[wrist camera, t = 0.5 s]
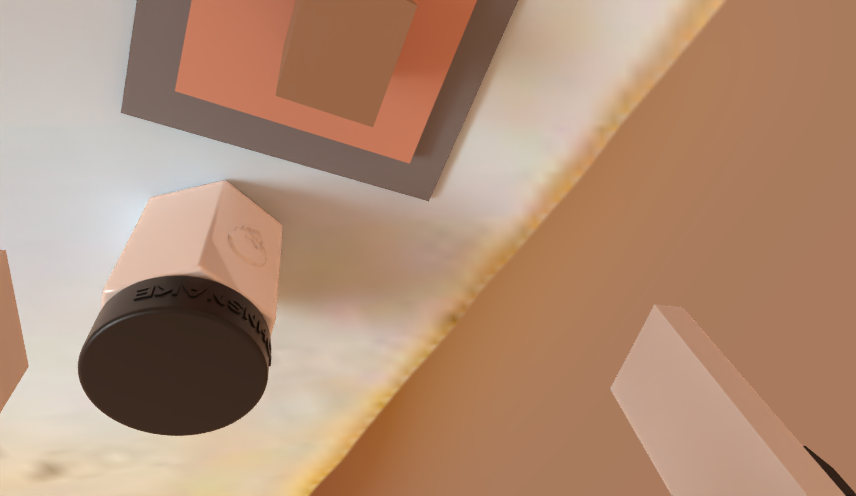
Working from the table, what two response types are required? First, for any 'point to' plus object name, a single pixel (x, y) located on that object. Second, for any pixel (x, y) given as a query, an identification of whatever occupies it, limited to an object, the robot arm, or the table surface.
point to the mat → (159, 102)
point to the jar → (187, 315)
